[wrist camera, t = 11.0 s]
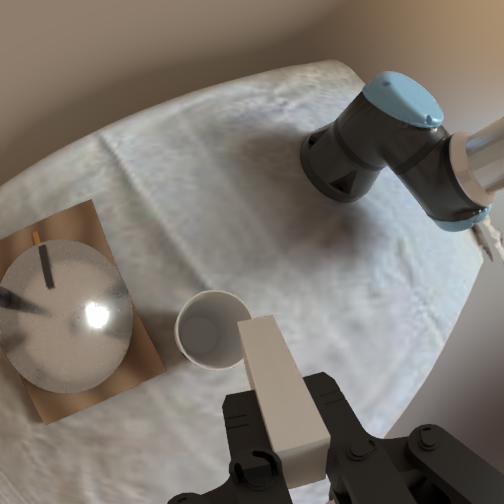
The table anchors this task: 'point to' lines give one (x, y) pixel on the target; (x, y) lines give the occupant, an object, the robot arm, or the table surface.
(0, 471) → the table surface
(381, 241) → the table surface
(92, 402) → the stand base
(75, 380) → the dial
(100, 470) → the table surface
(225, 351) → the cup
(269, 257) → the table surface
